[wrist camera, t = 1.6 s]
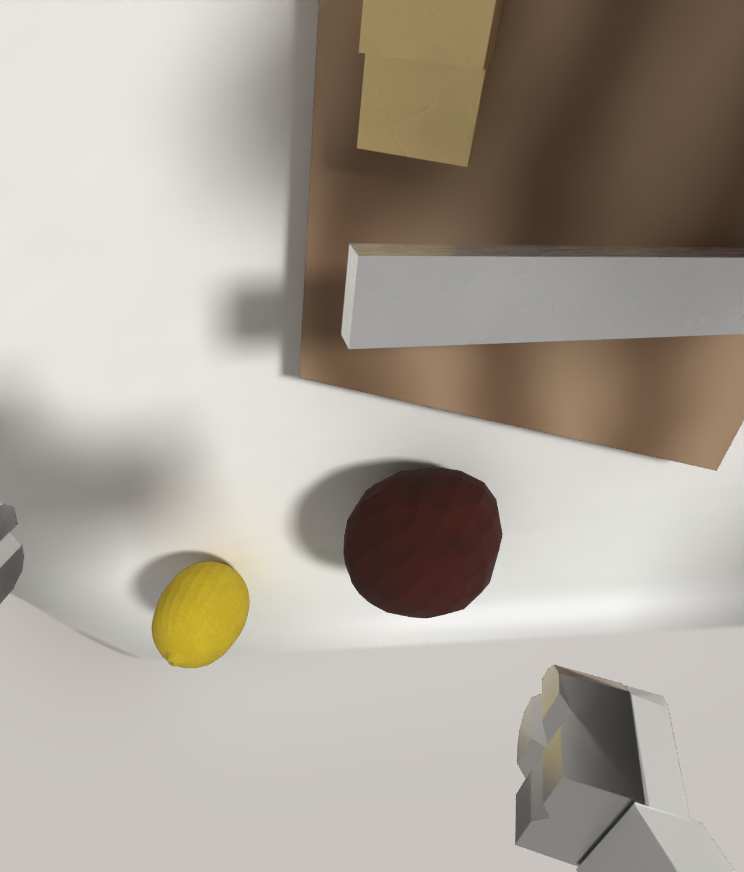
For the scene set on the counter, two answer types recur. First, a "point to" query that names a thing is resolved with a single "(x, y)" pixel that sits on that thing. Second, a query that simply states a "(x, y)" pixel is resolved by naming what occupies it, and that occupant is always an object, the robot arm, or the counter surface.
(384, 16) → the block
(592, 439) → the brown square board
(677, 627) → the counter surface
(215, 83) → the counter surface
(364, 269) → the bar
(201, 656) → the lemon
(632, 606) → the counter surface
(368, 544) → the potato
